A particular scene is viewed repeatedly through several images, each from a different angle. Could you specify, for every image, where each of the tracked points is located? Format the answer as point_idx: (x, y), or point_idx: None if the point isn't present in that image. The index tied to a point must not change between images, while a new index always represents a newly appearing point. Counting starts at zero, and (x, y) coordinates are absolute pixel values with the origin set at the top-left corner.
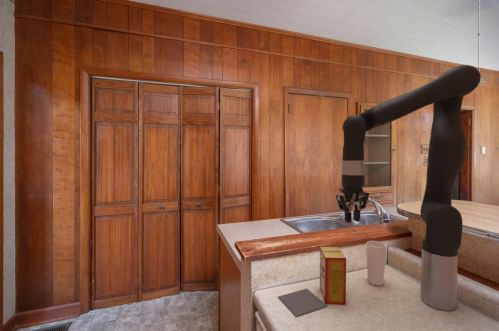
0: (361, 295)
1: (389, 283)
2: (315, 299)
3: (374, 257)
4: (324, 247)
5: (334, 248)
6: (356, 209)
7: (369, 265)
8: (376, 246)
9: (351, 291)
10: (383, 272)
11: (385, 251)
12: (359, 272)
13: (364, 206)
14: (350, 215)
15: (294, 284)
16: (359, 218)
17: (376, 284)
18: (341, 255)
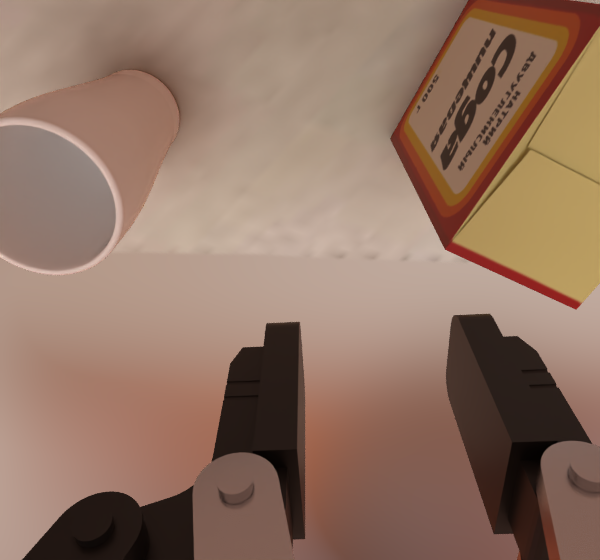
0: (318, 33)
1: (61, 72)
2: None
3: (129, 127)
4: (564, 280)
5: (510, 233)
6: (288, 522)
7: (161, 146)
8: (14, 227)
9: (341, 89)
10: (90, 81)
11: (9, 108)
12: (153, 231)
13: (77, 545)
14: (522, 394)
15: None
16: (268, 347)
17: (159, 80)
18: (594, 81)
